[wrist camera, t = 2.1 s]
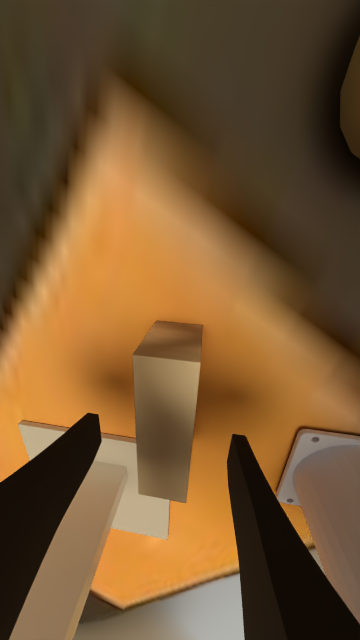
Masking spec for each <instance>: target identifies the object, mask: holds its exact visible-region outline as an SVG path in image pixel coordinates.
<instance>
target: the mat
mask: <svg viewBox="0 0 360 640" xmlns="http://www.w3.org/2000/svg"><path fill="white" fill-rule="evenodd" d="M18 426H19V429H20V432H21V435H22V438H23V441H24V444H25V447H26V450H27V453H28V456H29V459H30V460H32V459H33V458H34V457H35V456H37V455H38V454H39V453H41V452H42V451H43V450H44V449H46V448H47V447H48V446H49V445H50V444H52V443H53V442H54V441H55V440H56V439H58V438H59V437H60V436H61V435H62V434H64V433H65V432H66V431H67V430H68V429H70V428H66V427H60V426H54V425H47V424H41V423H35V422H28V421H21V422H20V423H19V424H18ZM101 438H102V442H101V445H100V447H99V450H98V452H97V454H96V457H95V459H94V461H97V462H102V463H108V464H114V465H120V466H125V467H127V473H128V479H127V482H126V485H125V488H124V491H123V494H122V497H121V500H120V503H119V506H118V509H117V511H116V514H115V517H114V520H113V523H112V526H111V528H114V529H119V530H123V531H128V532H133V533H138V534H142V535H147V536H152V537H156V538H161V539H166V540H168V531H169V511H170V500H167V499H162V498H156V497H151V496H146V495H140V494H138V472H137V448H136V439H135V438H129V437H122V436H116V435H110V434H104V433H101Z"/></svg>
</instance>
